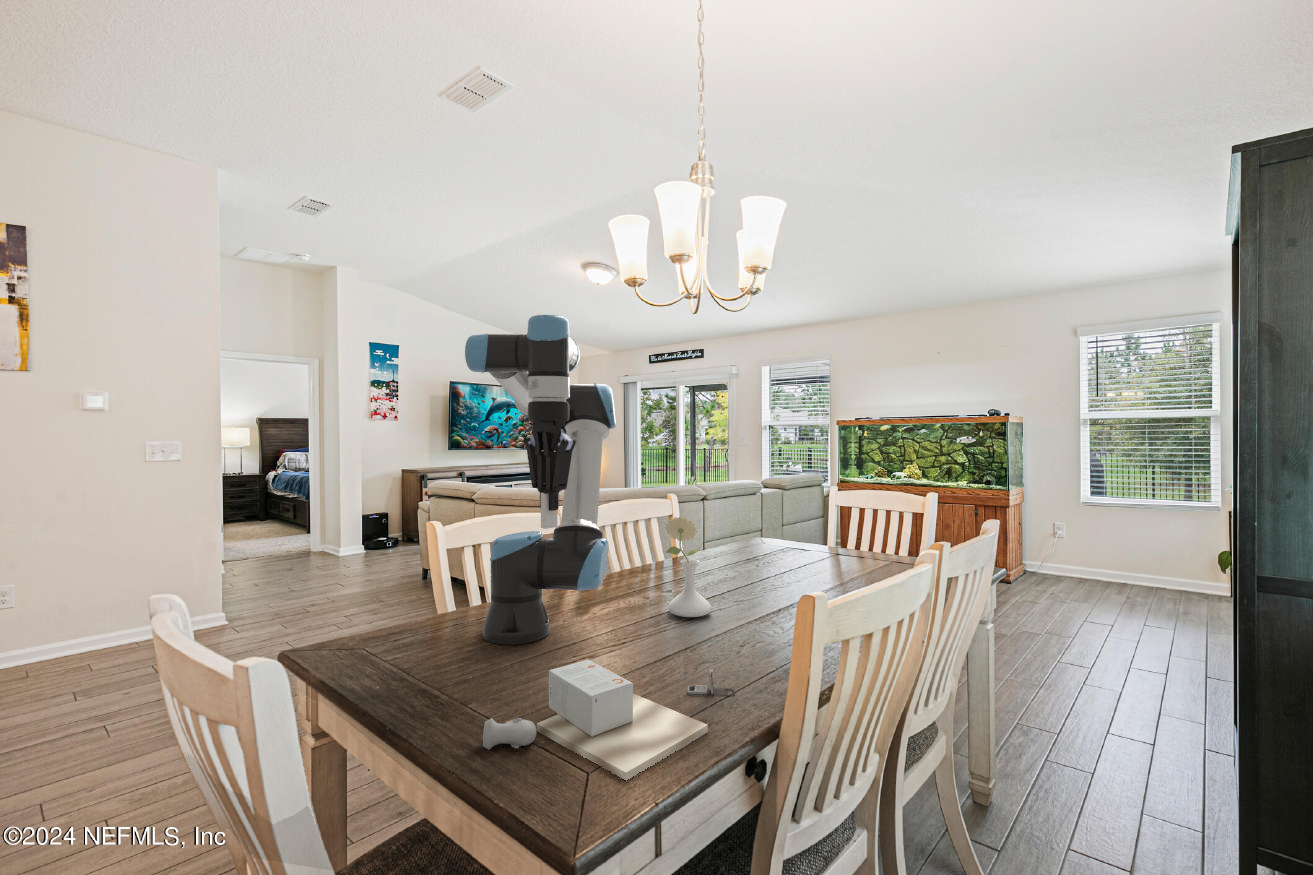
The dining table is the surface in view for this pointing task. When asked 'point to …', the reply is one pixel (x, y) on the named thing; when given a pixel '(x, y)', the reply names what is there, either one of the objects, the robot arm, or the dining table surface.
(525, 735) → the smooth white sculpture
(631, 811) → the dining table surface
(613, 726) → the small box
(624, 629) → the dining table surface
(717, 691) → the strap clip
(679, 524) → the flower in vase
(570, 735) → the birch board
